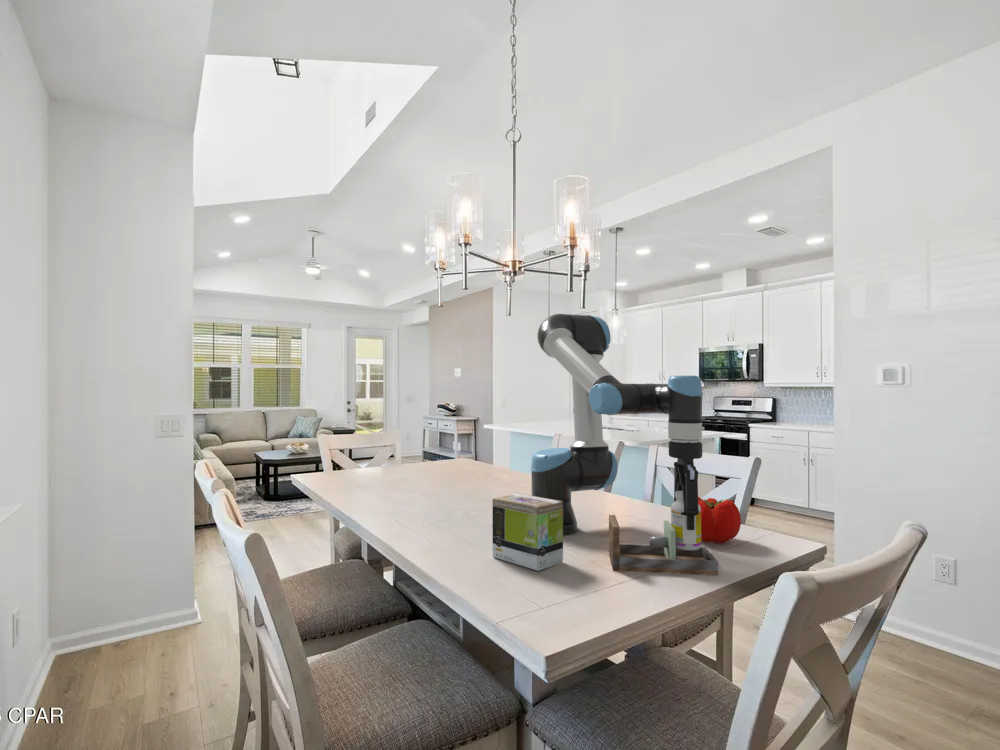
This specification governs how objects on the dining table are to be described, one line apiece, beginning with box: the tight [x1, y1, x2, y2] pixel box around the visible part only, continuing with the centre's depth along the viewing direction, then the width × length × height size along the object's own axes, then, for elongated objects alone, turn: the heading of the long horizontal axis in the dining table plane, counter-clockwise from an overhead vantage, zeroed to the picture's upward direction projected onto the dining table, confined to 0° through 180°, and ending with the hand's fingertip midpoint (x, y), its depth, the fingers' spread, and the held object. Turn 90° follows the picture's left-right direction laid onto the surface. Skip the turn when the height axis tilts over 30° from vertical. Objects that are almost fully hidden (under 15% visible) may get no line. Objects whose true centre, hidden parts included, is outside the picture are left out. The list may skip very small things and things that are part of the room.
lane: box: [608, 514, 719, 576], centre depth 123 cm, size 23×11×10 cm, turn 83°
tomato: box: [698, 496, 742, 545], centre depth 142 cm, size 13×14×12 cm
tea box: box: [492, 493, 564, 572], centre depth 126 cm, size 15×10×15 cm, turn 45°
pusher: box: [648, 520, 676, 559], centre depth 123 cm, size 5×9×8 cm, turn 173°
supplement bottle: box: [670, 491, 702, 551], centre depth 122 cm, size 7×7×13 cm
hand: (685, 538), depth 122 cm, fingers closed on supplement bottle, 7 cm apart
